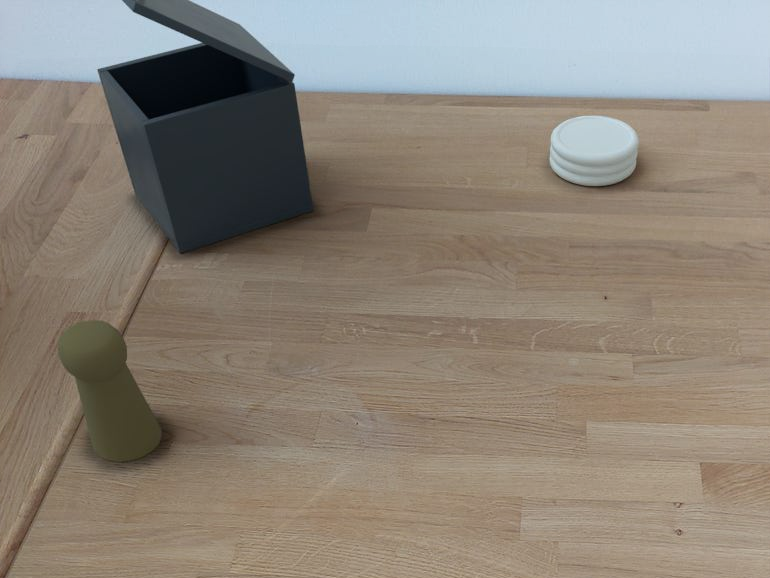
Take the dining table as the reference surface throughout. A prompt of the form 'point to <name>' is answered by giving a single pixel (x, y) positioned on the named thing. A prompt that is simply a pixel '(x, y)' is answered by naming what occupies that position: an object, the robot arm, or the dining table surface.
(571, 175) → the coaster
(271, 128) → the chest
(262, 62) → the lid
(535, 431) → the dining table surface
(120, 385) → the olive green game pawn
